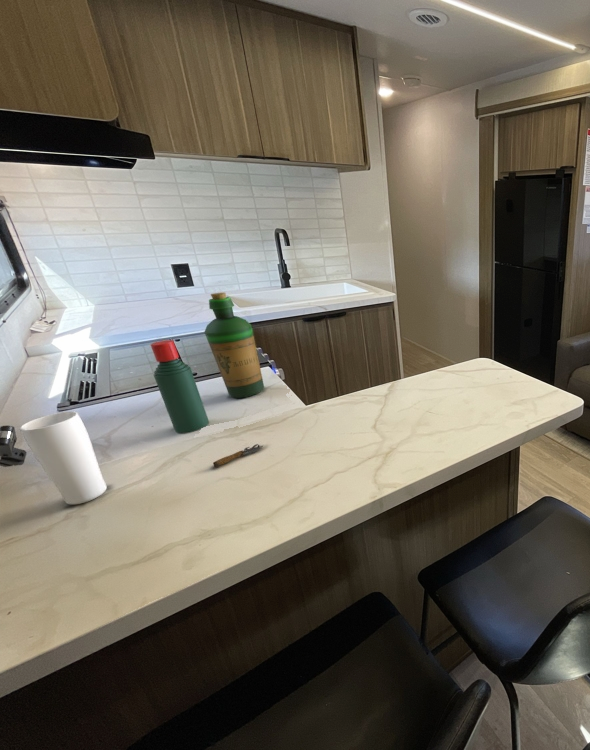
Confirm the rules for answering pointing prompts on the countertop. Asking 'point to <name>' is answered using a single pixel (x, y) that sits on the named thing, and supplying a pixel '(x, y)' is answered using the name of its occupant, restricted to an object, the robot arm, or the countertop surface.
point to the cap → (164, 350)
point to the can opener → (235, 455)
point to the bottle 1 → (181, 396)
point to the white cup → (66, 455)
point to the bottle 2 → (234, 349)
